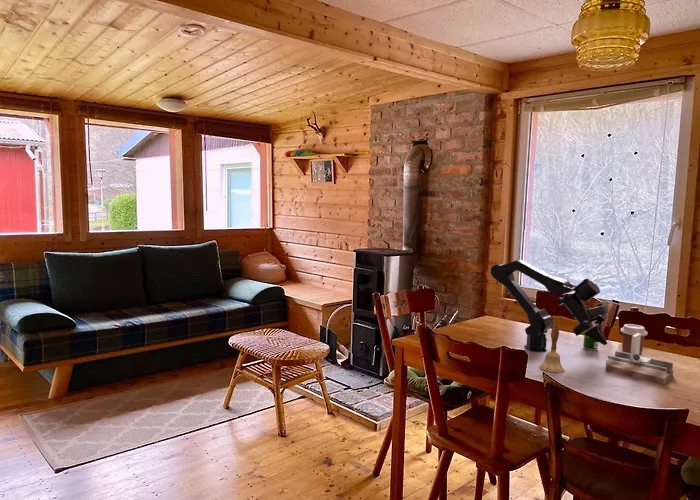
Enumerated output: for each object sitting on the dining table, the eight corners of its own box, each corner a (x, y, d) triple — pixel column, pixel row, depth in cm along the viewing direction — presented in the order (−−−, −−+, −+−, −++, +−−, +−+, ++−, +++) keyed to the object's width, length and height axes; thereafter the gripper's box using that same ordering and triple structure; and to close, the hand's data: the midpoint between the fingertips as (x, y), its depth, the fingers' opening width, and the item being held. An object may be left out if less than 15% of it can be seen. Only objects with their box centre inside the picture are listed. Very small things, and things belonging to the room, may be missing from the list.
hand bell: (563, 366, 184) (567, 322, 182) (565, 374, 176) (568, 328, 174) (539, 363, 187) (542, 320, 185) (539, 371, 179) (542, 325, 177)
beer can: (600, 349, 207) (602, 319, 205) (593, 351, 203) (596, 321, 202) (587, 345, 211) (589, 317, 209) (580, 348, 207) (582, 318, 206)
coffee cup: (616, 352, 203) (618, 322, 202) (642, 355, 200) (645, 324, 199) (620, 359, 194) (622, 327, 193) (647, 362, 191) (650, 330, 190)
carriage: (626, 369, 176) (629, 337, 175) (634, 363, 182) (637, 333, 181) (642, 373, 172) (645, 341, 171) (650, 367, 179) (653, 336, 178)
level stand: (605, 370, 181) (606, 356, 180) (616, 362, 190) (617, 349, 189) (663, 384, 169) (665, 369, 168) (672, 375, 177) (674, 361, 177)
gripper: (585, 299, 181) (616, 337, 175) (603, 293, 194) (633, 328, 188) (561, 317, 187) (589, 354, 181) (580, 309, 201) (607, 343, 194)
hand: (606, 344), depth 186 cm, fingers closed
